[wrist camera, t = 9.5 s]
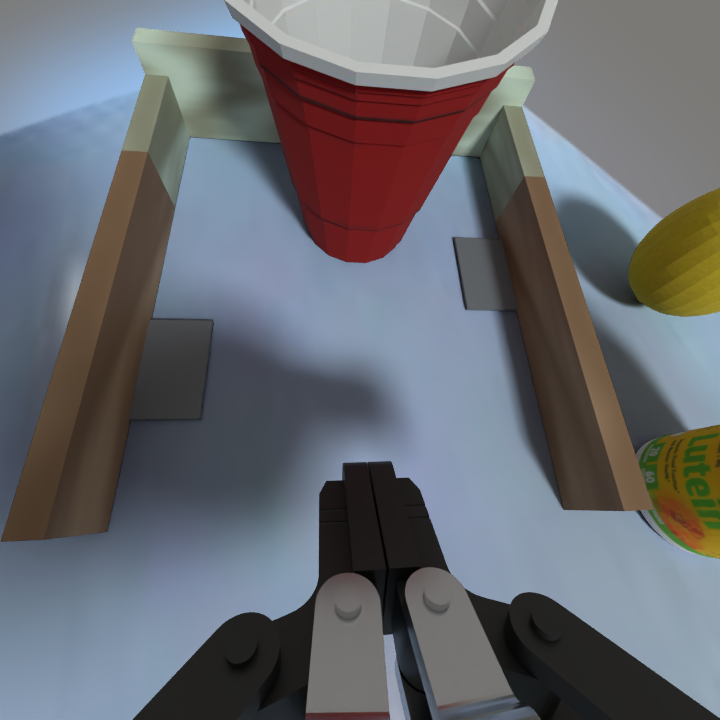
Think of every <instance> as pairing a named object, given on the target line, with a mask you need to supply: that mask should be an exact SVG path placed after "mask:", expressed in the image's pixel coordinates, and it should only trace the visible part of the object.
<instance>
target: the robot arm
mask: <svg viewBox="0 0 720 720" xmlns="http://www.w3.org/2000/svg"><path fill="white" fill-rule="evenodd" d="M388 634H393V637H394V643H395V649H396V660H395V674H396V679H397V683H398V688H399V692H400V697H401V701H402V706H403V710H404V715H405V719H406V720H720V718H718V717H717V716H716V715H714V714H713V713H711V712H710V711H709V710H707V709H706V708H704V707H703V706H702V705H700V704H699V703H697V702H696V701H695V700H693V699H692V698H690V697H689V696H688V695H686V694H685V693H683V692H682V691H681V690H679V689H678V688H676V687H675V686H674V685H672V684H671V683H669V682H668V681H667V680H665V679H664V678H662V677H661V676H660V675H658V674H657V673H655V672H654V671H653V670H651V669H650V668H648V667H647V666H645V665H644V664H643V663H641V662H640V661H638V660H637V659H636V658H634V657H633V656H631V655H630V654H629V653H627V652H626V651H624V650H623V649H622V648H620V647H619V646H617V645H616V644H615V643H613V642H612V641H610V640H609V639H608V638H606V637H605V636H603V635H602V634H601V633H599V632H598V631H596V630H595V629H594V628H592V627H591V626H589V625H588V624H587V623H585V622H584V621H582V620H581V619H580V618H578V617H577V616H575V615H574V614H572V613H571V612H570V611H568V610H567V609H565V608H564V607H563V606H561V605H560V604H558V603H557V602H555V601H554V600H552V599H551V598H549V597H547V596H544V595H541V594H538V593H532V592H527V593H522V594H519V595H518V596H516V597H515V598H514V599H513V600H512V602H511V604H506V603H503V602H499V601H495V600H491V599H487V598H484V597H481V596H478V595H475V594H473V593H471V592H470V591H468V590H466V589H465V588H464V587H463V586H462V584H461V583H460V582H459V581H458V580H457V579H456V578H455V577H454V576H453V575H452V574H451V573H450V571H449V569H448V567H447V565H446V562H445V559H444V556H443V553H442V551H441V548H440V545H439V542H438V539H437V537H436V534H435V531H434V528H433V525H432V523H431V520H430V519H429V514H428V511H427V509H426V507H425V503H424V500H423V497H422V495H421V492H420V489H419V488H418V487H417V486H416V485H415V484H414V483H413V482H412V481H411V480H410V479H409V478H396V475H395V472H394V468H393V465H392V462H391V461H384V462H368V463H366V462H357V463H343V471H342V480H341V481H326V483H325V485H324V486H323V488H322V490H321V492H320V494H319V579H318V583H317V586H316V589H315V591H314V593H313V594H312V596H311V597H310V599H309V600H308V601H307V602H306V603H305V604H304V605H303V606H302V607H300V608H299V609H297V610H296V611H294V612H292V613H290V614H287V615H285V616H283V617H281V618H278V619H276V620H274V621H271V620H270V619H269V618H268V617H266V616H265V615H263V614H260V613H254V612H249V613H243V614H240V615H237V616H235V617H233V618H231V619H229V620H228V621H226V622H225V623H224V624H222V625H221V626H220V627H219V628H218V629H217V630H216V631H215V632H214V633H213V635H212V636H211V637H210V638H209V639H208V640H207V641H206V642H205V643H204V644H203V645H202V646H201V647H200V648H199V649H198V651H197V652H196V653H195V654H194V655H193V656H192V657H191V658H190V659H189V660H188V661H187V662H186V663H185V664H184V665H183V666H182V668H181V669H180V670H179V671H178V672H177V673H176V674H175V675H174V676H173V677H172V678H171V679H170V680H169V681H168V682H167V684H166V685H165V686H164V687H163V688H162V689H161V690H160V691H159V692H158V693H157V694H156V695H155V696H154V697H153V698H152V700H151V701H150V702H149V703H148V704H147V705H146V706H145V707H144V708H143V709H142V710H141V711H140V712H139V713H138V714H137V716H136V717H135V718H134V719H133V720H390V714H389V703H388V691H387V678H386V665H385V653H384V640H383V635H388Z"/></svg>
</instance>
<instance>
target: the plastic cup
mask: <svg viewBox="0 0 720 720" xmlns="http://www.w3.org/2000/svg"><path fill="white" fill-rule="evenodd" d="M224 1H225V3H226V5H227V8H228V9H229V12H230V14H231V16H232V18H234V19H235V20H236V21H237V22H239V23H240V26H241V29H242V31H243V33H244V35H245V37H246V39H247V41H248V43H249V46H250V49H251V52H252V55H253V59H254V62H255V65H256V67H257V69H258V71H259V73H260V75H261V77H262V80H263V84H264V87H265V91H266V94H267V98H268V101H269V104H270V108H271V111H272V115H273V118H274V122H275V125H276V128H277V132H278V135H279V139H280V142H281V146H282V149H283V153H284V156H285V159H286V163H287V166H288V170H289V173H290V177H291V180H292V183H293V185H294V187H295V189H296V191H297V195H298V198H299V202H300V206H301V210H302V214H303V217H304V221H305V223H306V225H307V228H308V230H309V232H310V234H311V236H312V238H313V240H314V242H315V244H316V245H318V246H319V247H320V248H321V249H322V250H323V251H324V252H326V253H327V254H328V255H330V256H332V257H335V258H337V259H340V260H343V261H345V262H358V263H367V262H370V261H373V260H377V259H380V258H383V257H384V256H385V255H387V254H388V253H389V252H390V251H391V250H393V249H394V248H395V247H396V245H397V244H398V243H399V242H400V241H401V239H402V237H403V236H404V234H405V232H406V230H407V228H408V226H409V225H410V223H411V221H412V219H413V217H414V215H415V214H416V213H417V212H418V211H419V210H420V209H421V207H422V205H423V203H424V202H425V200H426V198H427V197H428V195H429V193H430V191H431V190H432V188H433V186H434V184H435V183H436V181H437V179H438V178H439V176H440V174H441V172H442V171H443V169H444V167H445V166H446V164H447V162H448V160H449V159H450V157H451V155H452V153H453V152H454V150H455V148H456V147H457V145H458V143H459V141H460V140H461V138H462V136H463V134H464V133H465V131H466V129H467V128H468V126H469V124H470V122H471V121H472V119H473V117H475V116H476V115H477V114H478V113H479V112H480V110H481V108H482V107H483V105H484V103H485V102H486V100H487V98H488V97H489V95H490V93H491V92H492V91H493V90H494V89H495V88H497V87H498V85H499V83H500V82H501V80H502V78H503V77H504V75H505V74H506V72H507V70H508V69H510V68H511V67H512V66H513V65H514V63H515V62H516V61H517V60H519V59H520V58H521V57H523V56H524V55H525V54H527V53H528V52H529V51H531V50H532V49H533V48H535V47H536V46H537V44H538V43H539V42H540V41H541V40H542V38H543V37H544V36H545V34H546V33H547V32H548V29H549V26H550V23H551V20H552V17H553V14H554V11H555V8H556V5H557V2H558V0H224Z"/></svg>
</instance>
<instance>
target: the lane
mask: <svg viewBox="0 0 720 720" xmlns="http://www.w3.org/2000/svg"><path fill="white" fill-rule="evenodd" d="M132 43H133V45H134V47H135V50H136V52H137V55H138V57H139V60H140V62H141V65H142V67H143V70H144V72H145V77H144V80H143V83H142V86H141V90H140V93H139V96H138V99H137V103H136V106H135V109H134V112H133V115H132V119H131V122H130V125H129V128H128V132H127V135H126V138H125V141H124V145H123V148H122V151H121V154H120V157H119V161H118V164H117V167H116V170H115V174H114V177H113V180H112V183H111V187H110V190H109V193H108V196H107V199H106V203H105V206H104V209H103V212H102V216H101V219H100V222H99V225H98V229H97V232H96V235H95V238H94V241H93V245H92V248H91V251H90V254H89V258H88V261H87V264H86V267H85V271H84V274H83V277H82V280H81V283H80V287H79V290H78V293H77V296H76V300H75V303H74V306H73V309H72V313H71V316H70V319H69V322H68V325H67V329H66V332H65V335H64V338H63V342H62V345H61V348H60V351H59V355H58V358H57V361H56V364H55V367H54V371H53V374H52V377H51V380H50V384H49V387H48V390H47V393H46V397H45V400H44V403H43V406H42V409H41V413H40V416H39V419H38V422H37V426H36V429H35V432H34V435H33V439H32V442H31V445H30V448H29V451H28V455H27V458H26V461H25V464H24V468H23V471H22V474H21V477H20V481H19V484H18V487H17V490H16V493H15V497H14V500H13V503H12V506H11V510H10V513H9V516H8V519H7V523H6V526H5V529H4V532H3V535H2V539H1V542H6V541H26V540H45V539H53V538H61V537H69V536H77V535H85V534H93V533H101V532H107V531H108V526H109V521H110V516H111V512H112V507H113V502H114V497H115V492H116V488H117V483H118V478H119V473H120V469H121V464H122V459H123V454H124V449H125V445H126V440H127V435H128V430H129V426H130V421H131V420H129V414H130V409H131V404H132V400H133V395H134V390H135V386H136V381H137V376H138V371H139V367H140V362H141V357H142V352H143V348H144V343H145V338H146V334H147V329H148V324H149V319H152V316H153V311H154V306H155V301H156V296H157V292H158V287H159V282H160V277H161V273H162V268H163V263H164V258H165V253H166V249H167V244H168V239H169V234H170V230H171V225H172V220H173V215H174V210H175V206H176V201H177V196H178V191H179V186H180V182H181V177H182V172H183V167H184V163H185V158H186V153H187V148H188V143H189V139H190V137H199V138H213V139H228V140H242V141H257V142H271V143H281V142H280V139H279V135H278V132H277V128H276V125H275V122H274V118H273V115H272V111H271V108H270V104H269V101H268V98H267V94H266V91H265V87H264V84H263V80H262V77H261V75H260V73H259V71H258V69H257V67H256V65H255V62H254V59H253V55H252V52H251V49H250V46H249V43H248V41H247V39H244V38H234V37H224V36H213V35H204V34H193V33H184V32H174V31H164V30H153V29H144V28H136V31H135V34H134V37H133V39H132ZM534 81H535V77H534V75H533V72H532V69H531V67H523V66H512V67H511V68H510V69H508V70H507V72H506V74H505V75H504V77H503V78H502V80H501V82H500V83H499V85H498V87H497V88H495V89H494V90H493V91H492V92H491V93H490V95H489V97H488V98H487V100H486V102H485V103H484V105H483V107H482V108H481V110H480V112H479V113H478V114H477V115H476V116H475V117H473V119H472V121H471V122H470V124H469V126H468V128H467V129H466V131H465V133H464V134H463V136H462V138H461V140H460V141H459V143H458V145H457V147H456V148H455V150H454V152H453V153H452V155H459V156H474V157H480V160H481V164H482V168H483V172H484V177H485V181H486V185H487V189H488V193H489V198H490V202H491V206H492V210H493V214H494V219H495V223H496V227H497V231H498V235H499V239H502V244H503V248H504V252H505V256H506V260H507V264H508V268H509V273H510V277H511V281H512V285H513V289H514V293H515V298H516V302H517V306H518V310H517V315H518V319H519V324H520V328H521V332H522V336H523V340H524V345H525V349H526V353H527V357H528V361H529V365H530V370H531V374H532V378H533V382H534V386H535V391H536V395H537V399H538V403H539V407H540V412H541V416H542V420H543V424H544V428H545V433H546V437H547V441H548V445H549V449H550V454H551V458H552V462H553V466H554V470H555V475H556V479H557V483H558V487H559V491H560V496H561V500H562V504H563V508H564V510H600V511H634V510H654V509H653V506H652V503H651V500H650V497H649V494H648V491H647V488H646V485H645V482H644V479H643V476H642V473H641V470H640V466H639V463H638V460H637V457H636V454H635V451H634V448H633V445H632V442H631V439H630V436H629V433H628V430H627V427H626V424H625V421H624V418H623V415H622V411H621V408H620V405H619V402H618V399H617V396H616V393H615V390H614V387H613V384H612V381H611V378H610V375H609V372H608V369H607V366H606V363H605V360H604V356H603V353H602V350H601V347H600V344H599V341H598V338H597V335H596V332H595V329H594V326H593V323H592V320H591V317H590V314H589V311H588V308H587V305H586V301H585V298H584V295H583V292H582V289H581V286H580V283H579V280H578V277H577V274H576V271H575V268H574V265H573V262H572V259H571V256H570V253H569V249H568V246H567V243H566V240H565V237H564V234H563V231H562V228H561V225H560V222H559V219H558V216H557V213H556V210H555V207H554V204H553V201H552V198H551V194H550V191H549V188H548V185H547V182H546V179H545V176H544V173H543V170H542V167H541V164H540V161H539V158H538V155H537V152H536V149H535V146H534V143H533V139H532V136H531V133H530V130H529V127H528V124H527V121H526V118H525V115H524V112H523V109H522V105H523V103H524V101H525V99H526V97H527V95H528V93H529V92H530V90H531V88H532V86H533V84H534Z"/></svg>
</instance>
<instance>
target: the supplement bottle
mask: <svg viewBox="0 0 720 720" xmlns="http://www.w3.org/2000/svg"><path fill="white" fill-rule="evenodd" d="M636 457H637V460H638V463H639V466H640V470H641V473H642V476H643V479H644V482H645V485H646V488H647V491H648V494H649V497H650V500H651V503H652V506H653V509H654V510H640V511H641V512H642V514H643V516H644V517H645V519H646V520H647V521H648V523H649V524H650V525H651V527H652V528H653V529H654V530H655V531H656V532H657V533H658V534H659V535H660V536H661V537H662V538H664V539H665V540H666V541H668V542H669V543H670V544H672V545H674V546H675V547H677V548H679V549H681V550H684V551H686V552H689V553H692V554H696V555H700V556H706V557H712V558H719V559H720V425H716V426H711V427H705V428H700V429H695V430H690V431H685V432H679V433H675V434H669V435H665V436H661V437H658V438H655V439H652V440H650V441H648V442H646V443H645V444H644V445H643V446H642V447H641V448H640V449H639V450H638V451H637V453H636Z"/></svg>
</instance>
